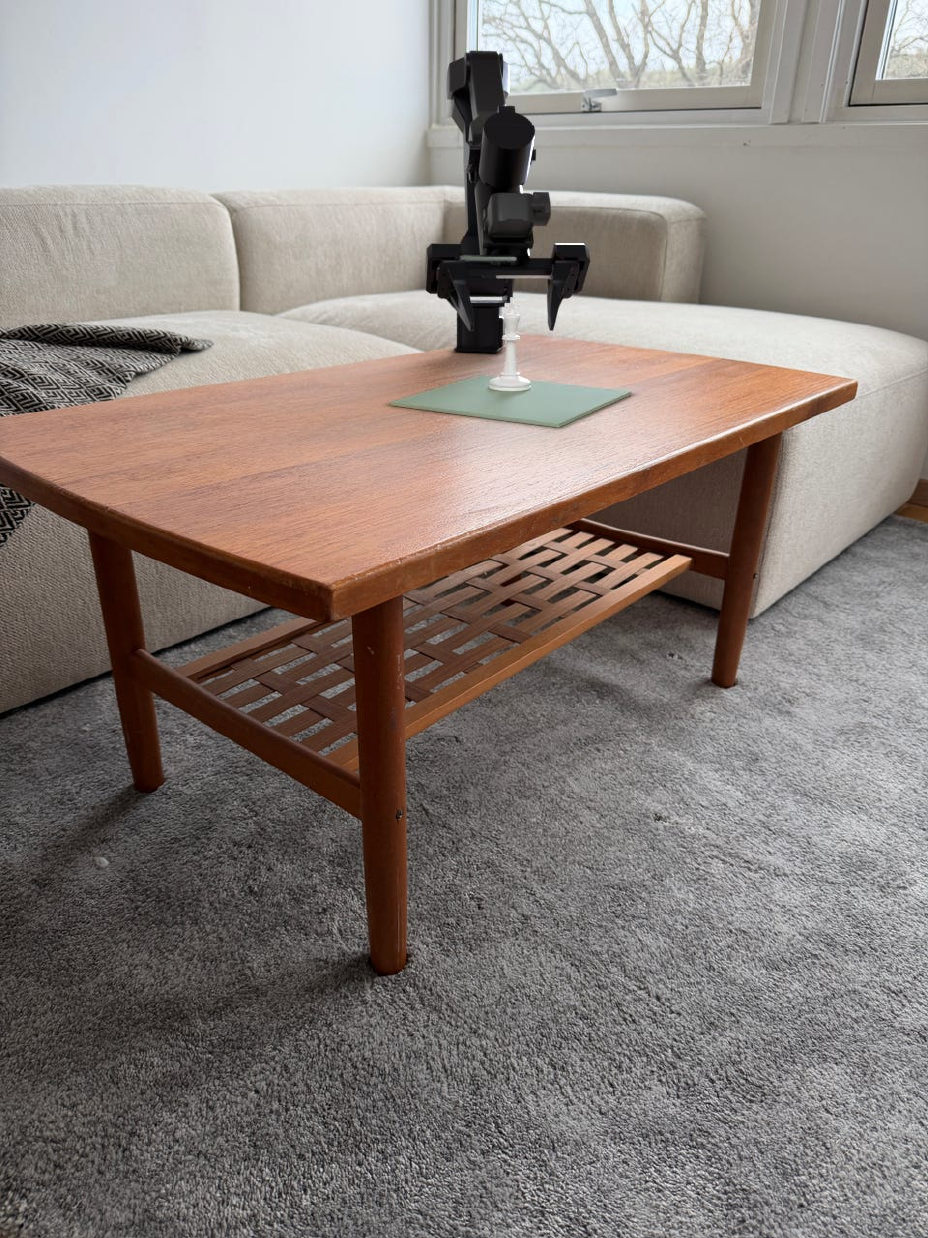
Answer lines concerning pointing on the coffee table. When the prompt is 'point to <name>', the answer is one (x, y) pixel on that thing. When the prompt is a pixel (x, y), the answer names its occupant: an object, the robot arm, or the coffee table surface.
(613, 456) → the coffee table surface
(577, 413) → the felt mat
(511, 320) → the chess piece
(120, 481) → the coffee table surface
